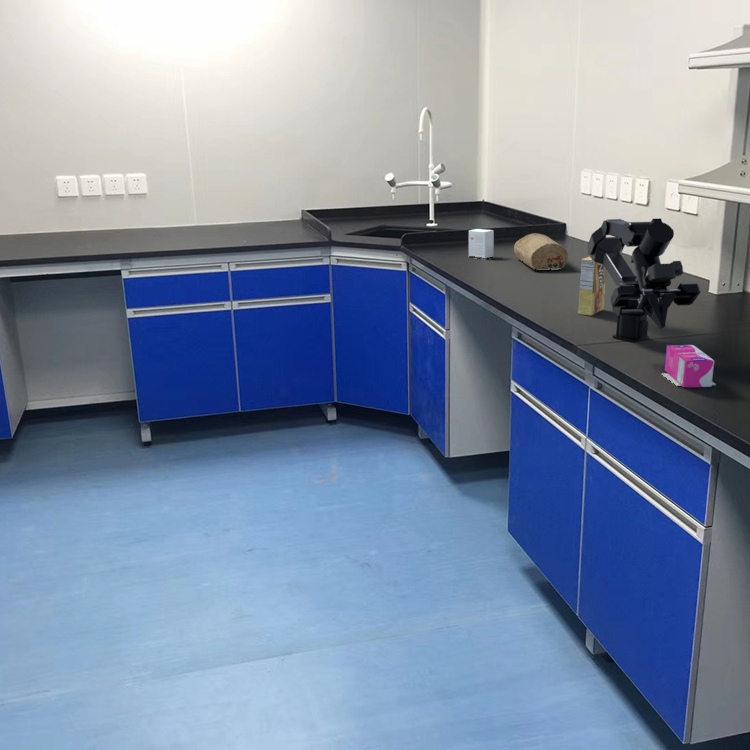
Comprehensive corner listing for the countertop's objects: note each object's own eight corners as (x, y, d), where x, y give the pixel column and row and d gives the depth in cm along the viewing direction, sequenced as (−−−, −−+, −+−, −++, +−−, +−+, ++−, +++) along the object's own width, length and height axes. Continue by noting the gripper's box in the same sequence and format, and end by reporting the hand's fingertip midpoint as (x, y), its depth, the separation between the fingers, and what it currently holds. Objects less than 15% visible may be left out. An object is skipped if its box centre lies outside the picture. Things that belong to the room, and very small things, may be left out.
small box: (493, 257, 316) (494, 230, 313) (484, 259, 312) (485, 231, 309) (476, 255, 322) (477, 228, 318) (468, 257, 318) (468, 230, 315)
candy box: (589, 308, 233) (593, 254, 229) (604, 309, 231) (608, 255, 226) (577, 314, 227) (580, 258, 222) (592, 316, 224) (595, 260, 220)
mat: (661, 374, 174) (661, 373, 174) (698, 373, 174) (698, 372, 174) (676, 386, 166) (677, 385, 166) (715, 385, 167) (715, 383, 167)
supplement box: (693, 343, 174) (715, 360, 163) (690, 369, 176) (712, 388, 165) (666, 343, 174) (686, 361, 163) (663, 370, 176) (683, 389, 165)
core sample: (530, 272, 287) (531, 244, 284) (512, 260, 312) (513, 233, 309) (570, 271, 288) (571, 242, 285) (549, 259, 313) (550, 232, 310)
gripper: (618, 249, 182) (632, 310, 175) (701, 246, 183) (718, 307, 176) (604, 277, 192) (617, 335, 185) (683, 274, 193) (698, 333, 186)
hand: (662, 327), depth 182 cm, fingers closed
